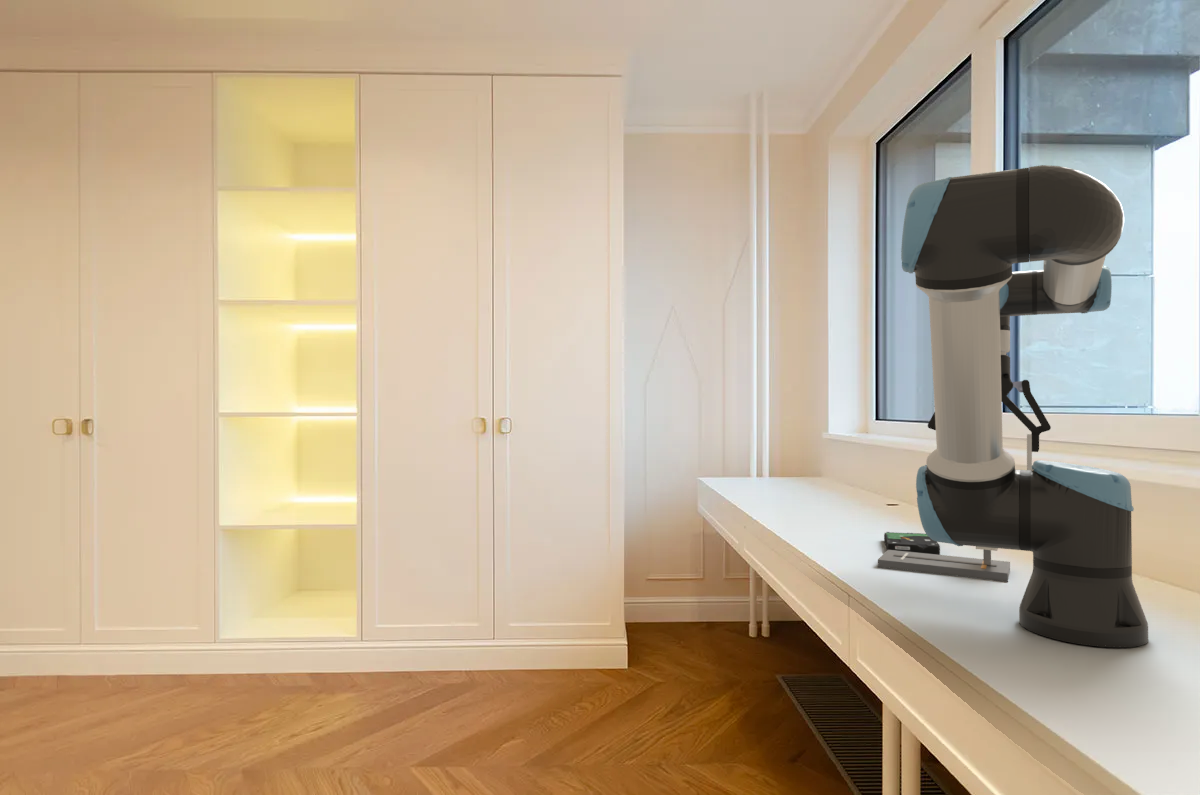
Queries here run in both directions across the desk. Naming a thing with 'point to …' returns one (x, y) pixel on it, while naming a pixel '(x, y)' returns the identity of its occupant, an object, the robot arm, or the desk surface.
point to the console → (945, 565)
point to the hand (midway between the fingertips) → (987, 468)
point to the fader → (987, 554)
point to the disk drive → (911, 543)
